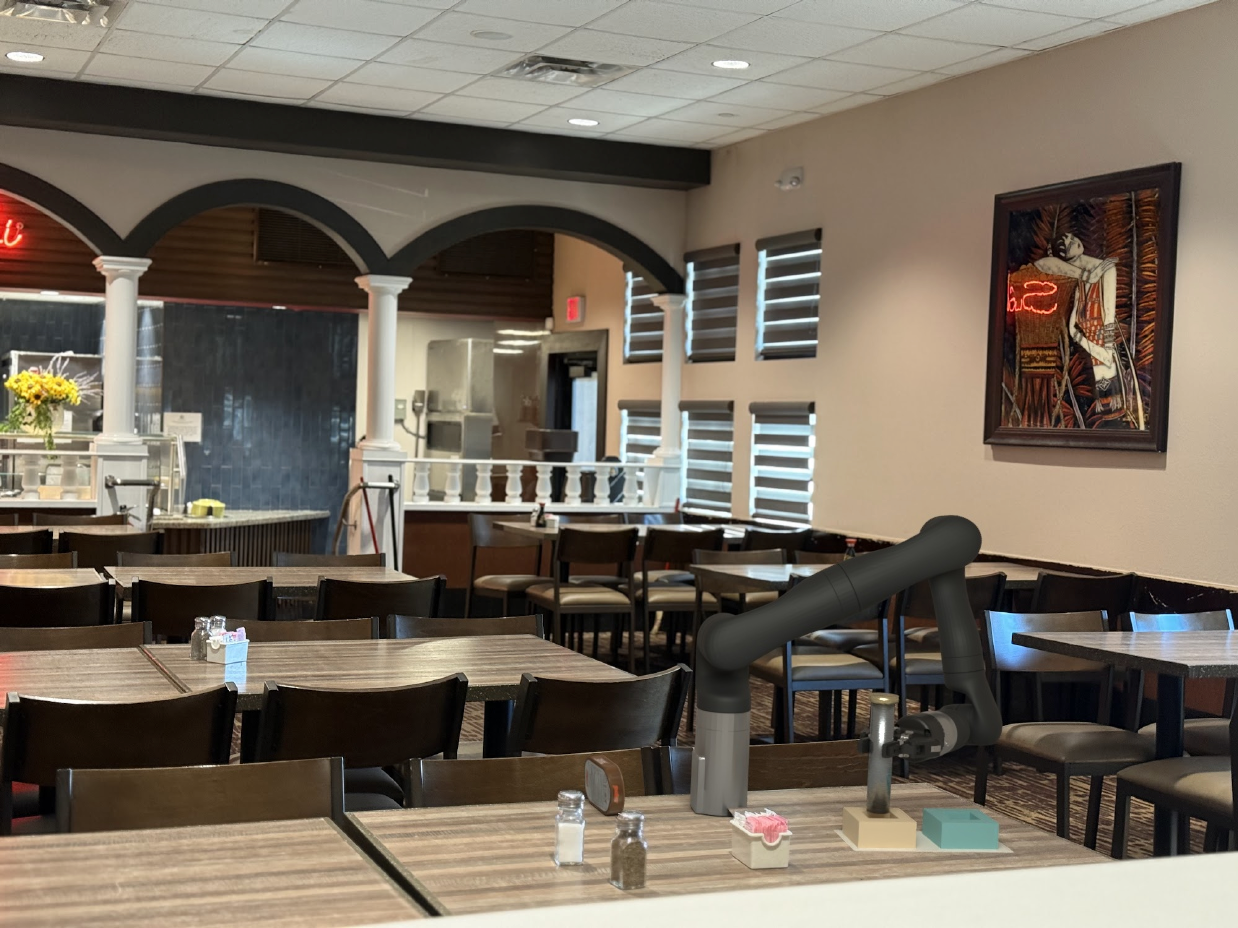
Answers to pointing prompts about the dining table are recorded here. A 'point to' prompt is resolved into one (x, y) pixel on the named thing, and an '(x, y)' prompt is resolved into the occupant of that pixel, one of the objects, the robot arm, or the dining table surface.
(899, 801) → the dining table surface
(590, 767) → the tin
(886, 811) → the pin
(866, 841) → the dock
